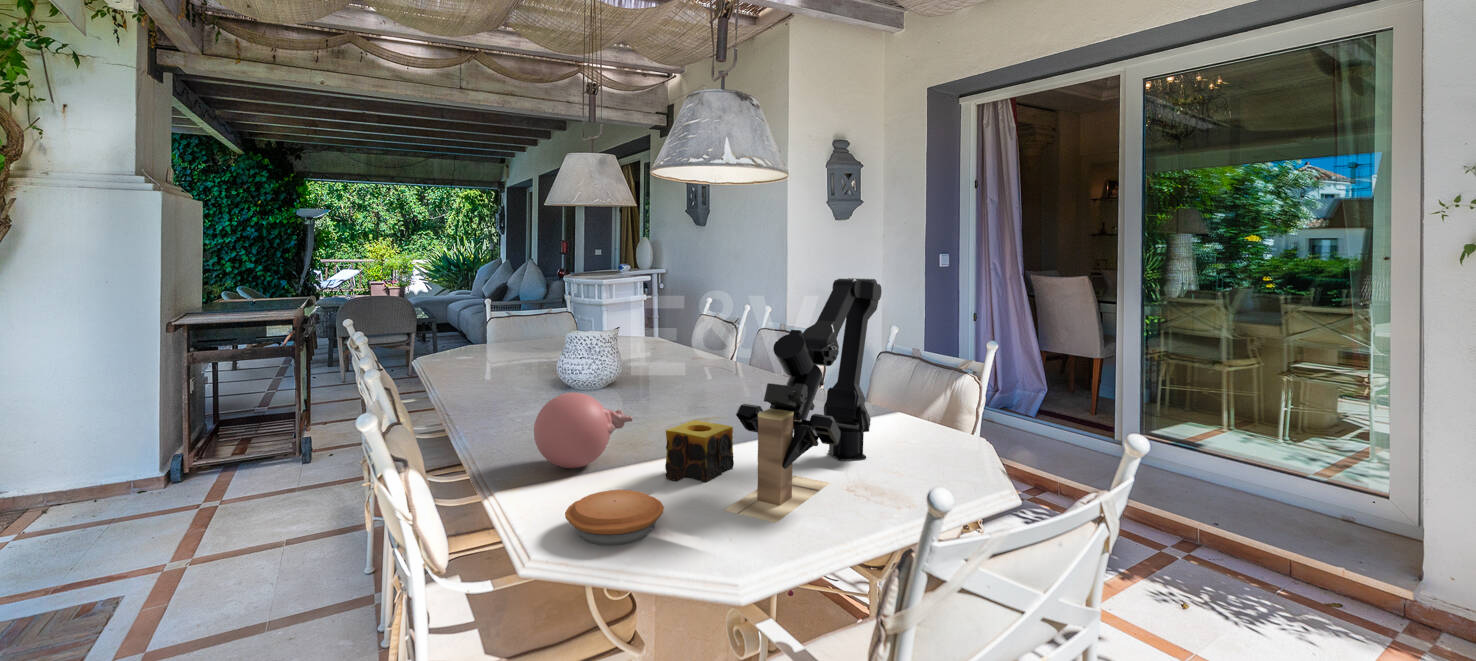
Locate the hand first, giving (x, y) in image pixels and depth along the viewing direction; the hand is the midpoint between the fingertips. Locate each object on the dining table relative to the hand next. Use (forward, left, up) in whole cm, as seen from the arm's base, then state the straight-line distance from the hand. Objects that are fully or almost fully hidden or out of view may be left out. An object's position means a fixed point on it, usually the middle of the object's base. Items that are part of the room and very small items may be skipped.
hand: (771, 465), depth 116 cm
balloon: (+31, -31, -8) cm, 45 cm away
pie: (+27, +3, -8) cm, 28 cm away
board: (-2, -2, -8) cm, 8 cm away
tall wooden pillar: (-1, -1, -7) cm, 7 cm away
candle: (+9, -19, -8) cm, 23 cm away
